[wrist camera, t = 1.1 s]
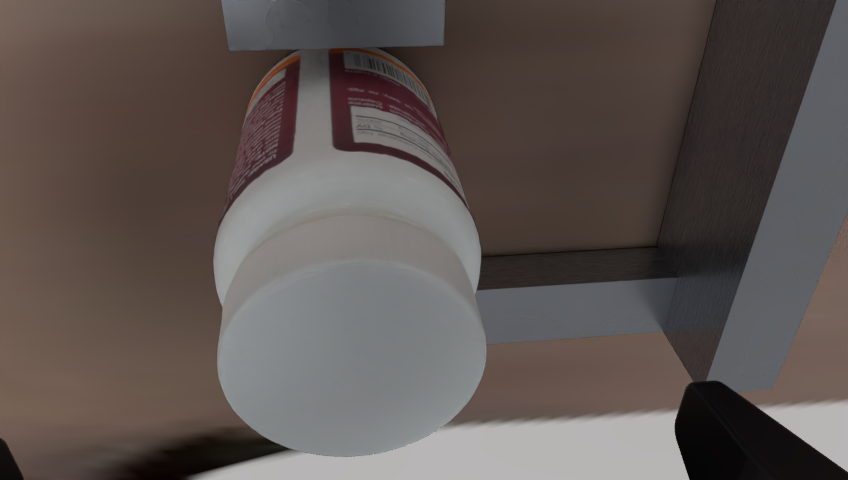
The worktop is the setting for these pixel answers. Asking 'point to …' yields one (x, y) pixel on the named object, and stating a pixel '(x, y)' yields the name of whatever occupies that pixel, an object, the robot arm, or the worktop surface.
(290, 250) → the pill bottle
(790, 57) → the vise
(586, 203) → the worktop surface
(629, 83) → the worktop surface
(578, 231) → the worktop surface
